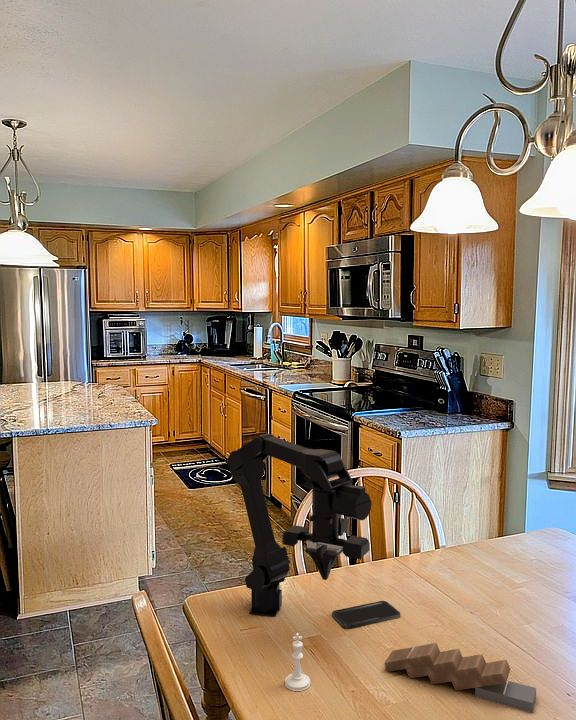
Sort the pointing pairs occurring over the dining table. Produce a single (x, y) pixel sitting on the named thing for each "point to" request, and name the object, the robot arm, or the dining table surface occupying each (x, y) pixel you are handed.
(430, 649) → the domino
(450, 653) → the domino
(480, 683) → the domino
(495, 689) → the domino
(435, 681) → the domino
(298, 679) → the chess piece
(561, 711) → the dining table surface
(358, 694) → the dining table surface
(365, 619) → the phone
